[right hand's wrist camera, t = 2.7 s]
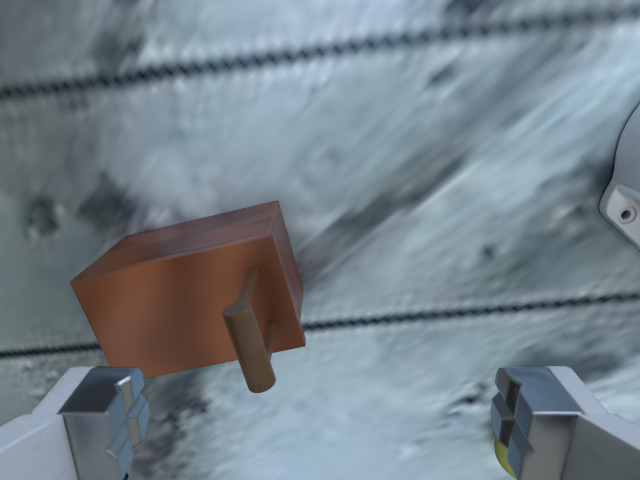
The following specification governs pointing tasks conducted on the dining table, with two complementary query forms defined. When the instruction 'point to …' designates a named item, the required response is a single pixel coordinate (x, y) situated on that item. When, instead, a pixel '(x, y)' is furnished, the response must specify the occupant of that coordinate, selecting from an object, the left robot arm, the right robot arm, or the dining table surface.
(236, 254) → the lid
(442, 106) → the dining table surface
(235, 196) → the dining table surface
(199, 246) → the chest
